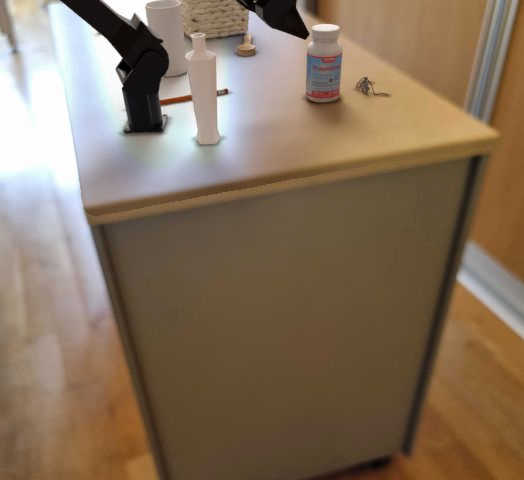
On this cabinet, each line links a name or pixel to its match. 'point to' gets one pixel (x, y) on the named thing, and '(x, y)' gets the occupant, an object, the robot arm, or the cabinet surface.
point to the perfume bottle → (203, 89)
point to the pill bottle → (324, 64)
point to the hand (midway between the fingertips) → (296, 29)
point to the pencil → (187, 97)
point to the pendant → (366, 85)
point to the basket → (214, 17)
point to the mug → (169, 32)
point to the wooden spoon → (246, 46)
